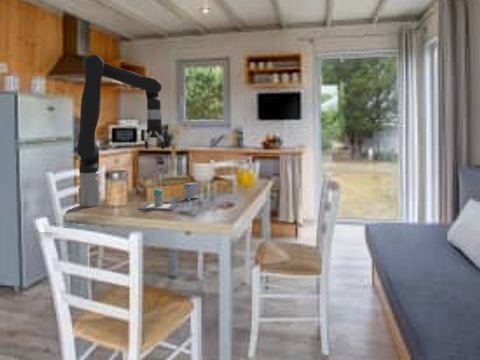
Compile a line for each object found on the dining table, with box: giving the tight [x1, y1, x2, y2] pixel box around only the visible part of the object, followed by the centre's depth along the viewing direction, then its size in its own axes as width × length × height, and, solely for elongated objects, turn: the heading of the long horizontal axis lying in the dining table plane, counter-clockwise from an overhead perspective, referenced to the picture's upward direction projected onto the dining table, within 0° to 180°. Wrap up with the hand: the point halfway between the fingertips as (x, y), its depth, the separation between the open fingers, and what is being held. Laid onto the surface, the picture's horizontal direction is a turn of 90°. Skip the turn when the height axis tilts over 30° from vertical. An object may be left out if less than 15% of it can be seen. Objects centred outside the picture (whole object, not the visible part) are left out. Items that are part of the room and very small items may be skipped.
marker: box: [153, 188, 164, 207], centre depth 230 cm, size 4×4×8 cm
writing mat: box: [138, 202, 179, 211], centre depth 231 cm, size 17×13×1 cm
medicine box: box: [183, 182, 200, 200], centre depth 254 cm, size 8×4×9 cm, turn 144°
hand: (154, 149), depth 245 cm, fingers open, 8 cm apart
